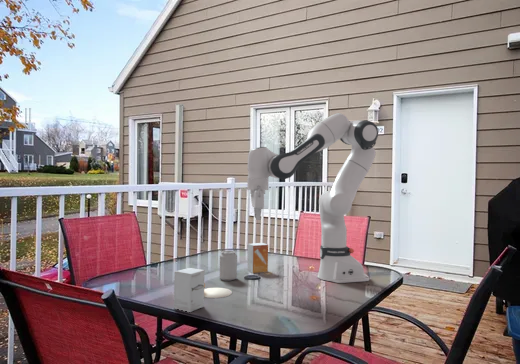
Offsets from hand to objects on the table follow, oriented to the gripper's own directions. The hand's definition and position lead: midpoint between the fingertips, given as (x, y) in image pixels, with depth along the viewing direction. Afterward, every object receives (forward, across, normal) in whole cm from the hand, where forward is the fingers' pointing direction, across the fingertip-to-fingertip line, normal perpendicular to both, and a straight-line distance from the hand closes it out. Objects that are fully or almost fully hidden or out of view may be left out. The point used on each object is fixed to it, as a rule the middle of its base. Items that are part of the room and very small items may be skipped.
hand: (257, 218), depth 161 cm
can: (+27, +8, +12) cm, 31 cm away
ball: (+24, -13, +24) cm, 36 cm away
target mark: (+27, -13, +17) cm, 34 cm away
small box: (+27, +22, -2) cm, 35 cm away
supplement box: (+27, -30, +25) cm, 48 cm away
